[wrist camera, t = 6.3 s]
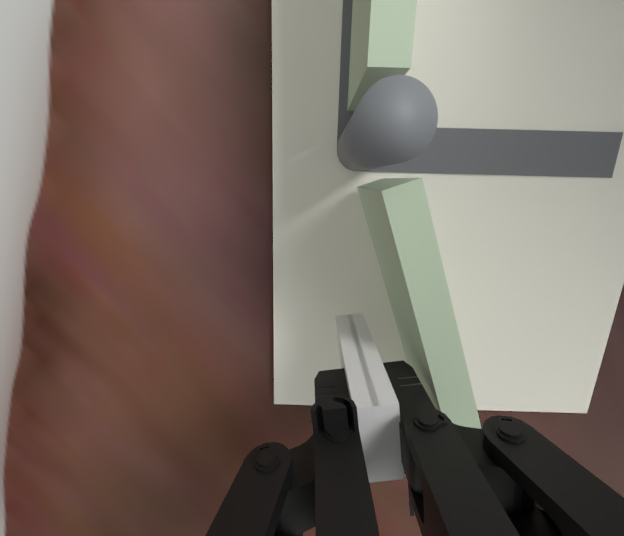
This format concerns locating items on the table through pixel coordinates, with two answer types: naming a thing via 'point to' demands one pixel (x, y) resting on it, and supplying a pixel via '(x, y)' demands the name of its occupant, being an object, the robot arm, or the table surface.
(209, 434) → the table surface
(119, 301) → the table surface
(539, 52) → the card
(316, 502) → the robot arm
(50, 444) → the table surface
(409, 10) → the fence fixed
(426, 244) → the fence panel
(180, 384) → the table surface
